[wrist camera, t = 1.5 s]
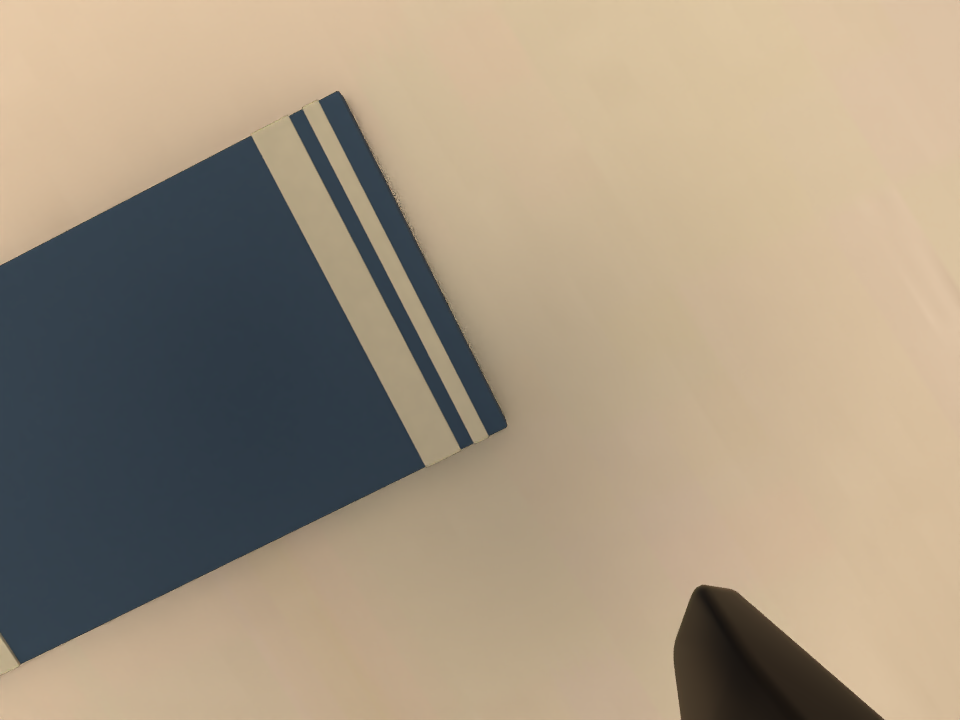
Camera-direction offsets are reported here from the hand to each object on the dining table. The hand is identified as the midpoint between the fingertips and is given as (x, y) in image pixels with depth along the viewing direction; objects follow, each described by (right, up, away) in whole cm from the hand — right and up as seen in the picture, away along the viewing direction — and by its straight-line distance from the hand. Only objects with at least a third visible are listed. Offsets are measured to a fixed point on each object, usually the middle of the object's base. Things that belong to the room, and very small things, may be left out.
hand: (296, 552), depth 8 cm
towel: (-9, +1, +14) cm, 17 cm away
